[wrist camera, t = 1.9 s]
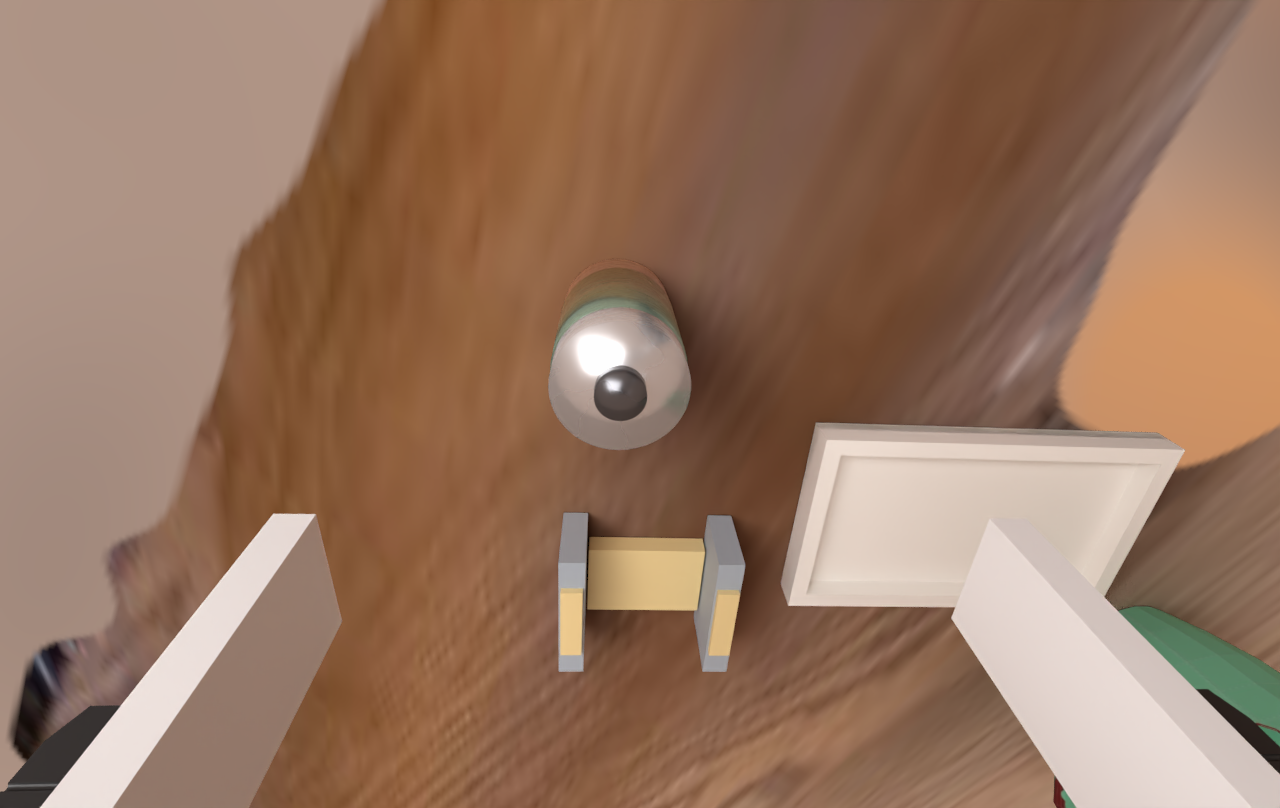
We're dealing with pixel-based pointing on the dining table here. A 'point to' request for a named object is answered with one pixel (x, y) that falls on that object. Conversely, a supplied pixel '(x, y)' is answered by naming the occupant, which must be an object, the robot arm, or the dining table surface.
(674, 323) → the cell
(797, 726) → the dining table surface
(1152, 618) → the mug
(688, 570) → the cradle
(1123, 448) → the tray
